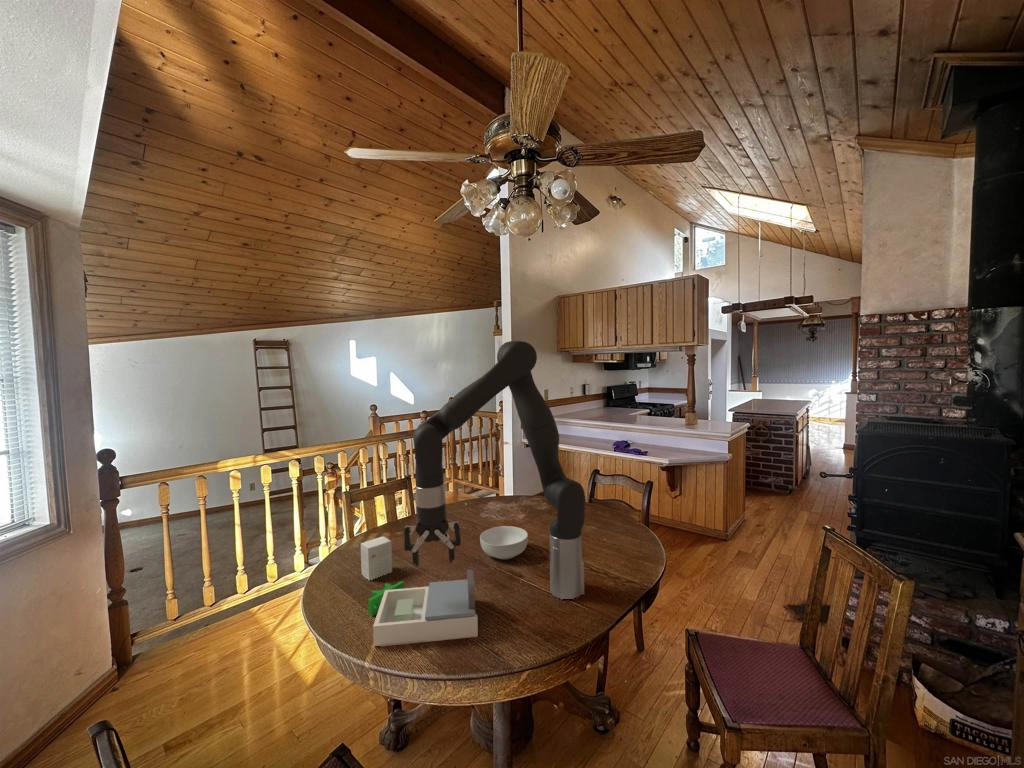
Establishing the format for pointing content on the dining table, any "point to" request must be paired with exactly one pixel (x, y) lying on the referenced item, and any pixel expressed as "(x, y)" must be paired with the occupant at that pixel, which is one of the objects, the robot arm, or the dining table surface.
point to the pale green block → (404, 610)
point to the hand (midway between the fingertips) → (434, 563)
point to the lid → (451, 598)
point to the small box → (376, 558)
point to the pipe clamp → (378, 595)
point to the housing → (417, 621)
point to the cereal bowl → (504, 541)
